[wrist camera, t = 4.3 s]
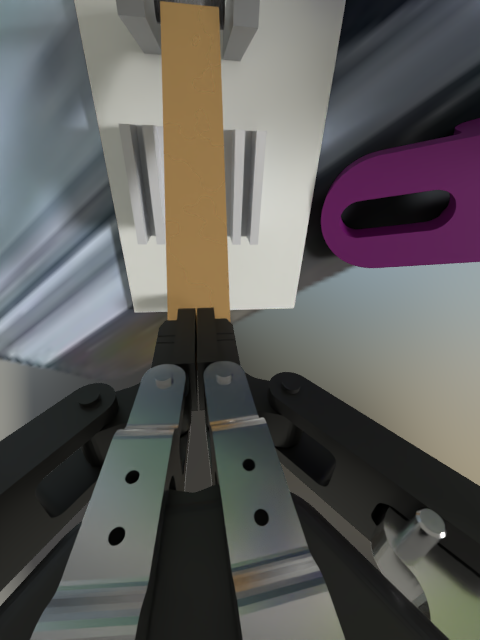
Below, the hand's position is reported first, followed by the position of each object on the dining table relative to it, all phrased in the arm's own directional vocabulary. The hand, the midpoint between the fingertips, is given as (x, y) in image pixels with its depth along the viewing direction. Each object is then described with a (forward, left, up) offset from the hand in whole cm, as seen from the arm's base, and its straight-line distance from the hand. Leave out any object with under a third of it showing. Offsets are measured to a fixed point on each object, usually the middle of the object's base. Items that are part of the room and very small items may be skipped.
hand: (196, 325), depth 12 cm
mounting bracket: (-20, -3, -17) cm, 26 cm away
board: (-2, -4, -16) cm, 17 cm away
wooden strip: (0, -5, -6) cm, 8 cm away
